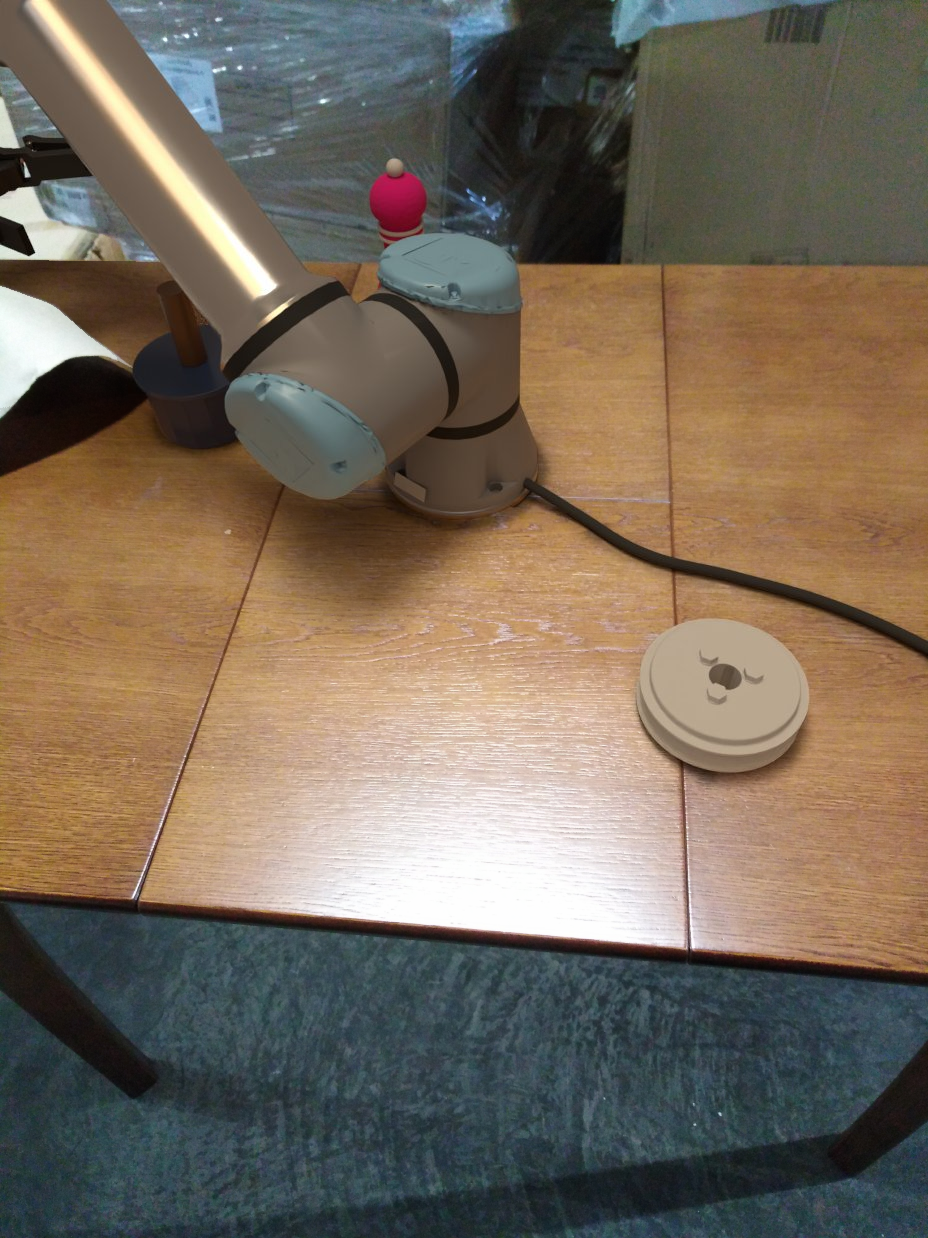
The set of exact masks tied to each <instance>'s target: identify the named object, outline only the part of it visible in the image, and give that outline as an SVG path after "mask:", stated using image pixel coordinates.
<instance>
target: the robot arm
mask: <svg viewBox="0 0 928 1238" xmlns="http://www.w3.org/2000/svg"><path fill="white" fill-rule="evenodd" d="M123 21H124V20H122V19H121V17H120V16H119V15H118V13H117V12H116V10H115V9H114V8H113V6H112V5H111V4H110V2H109V1H108V0H0V69H7V70H10V71H11V72H12V74H13V75H14V76H15V77H16V79H17V80H18V81H19V82H20V84H21V85H22V86H23V88H24V89H25V90H26V92H27V93H28V94H29V96H31V98H32V99H33V100H34V102H35V103H36V104H37V106H38V107H39V108H40V109H41V111H42V112H43V114H44V115H45V116H46V117H47V118H48V120H49V121H50V122H51V124H52V125H53V126H54V128H55V129H56V130H57V131H58V133H59V134H60V135H61V137H44V136H40V135H39V136H38V135H34V134H26V135H23V136H22V137H21V139H22V142H23V146H21V147H14V148H13V147H2V146H0V197H2V196H4V195H6V194H7V193H9V192H15V191H17V190H18V189H22V188H34V187H39V186H40V185H42V182H43V181H57V180H66V179H77V178H88V177H93V178H94V179H95V180H96V181H97V183H98V184H99V185H100V186H101V188H102V189H103V190H104V191H105V193H106V194H107V196H108V197H109V198H110V199H111V200H112V202H113V204H114V205H115V206H116V207H117V208H118V210H119V211H120V212H121V214H122V215H123V216H124V217H125V218H126V220H127V221H128V222H129V224H130V225H131V226H132V228H133V229H134V231H135V232H136V233H137V234H138V235H139V236H140V238H141V240H143V242H144V243H145V244H146V245H147V247H148V249H150V251H151V252H152V253H153V255H154V257H156V259H157V260H158V261H159V262H160V264H161V265H162V267H164V269H165V270H166V271H167V272H168V274H169V276H171V278H172V279H173V280H175V281H176V283H177V284H178V285H179V286H180V288H181V289H182V290H183V292H184V293H185V294H186V295H187V297H188V298H189V299H190V301H191V304H192V305H193V306H194V308H195V309H196V310H197V311H198V312H199V314H200V315H201V316H202V318H203V319H204V320H205V321H206V323H207V324H209V325H210V326H211V328H212V329H213V330H214V331H215V333H216V334H217V335H218V337H219V338H220V339H221V344H222V351H221V360H220V371H221V372H222V373H223V375H224V376H225V377H226V379H227V380H228V381H229V382H230V386H229V389H228V391H227V393H226V396H225V411H226V415H227V418H228V420H229V423H230V424H231V425H232V426H234V427H235V428H236V430H235V434H236V436H237V438H238V439H239V440H238V441H239V442H240V444H241V445H242V447H243V448H244V449H245V450H246V451H247V453H248V454H249V455H250V457H252V459H253V460H255V462H256V463H257V464H258V465H259V466H260V467H261V468H262V469H264V470H265V471H266V472H267V473H268V474H269V475H270V476H272V477H273V479H275V480H277V481H278V482H280V483H281V484H282V485H284V486H285V487H287V488H289V489H291V490H293V491H295V492H296V493H301V494H302V495H304V496H307V497H309V498H313V499H318V500H335V499H339V498H342V497H344V496H346V495H349V494H350V493H351V492H352V491H354V490H356V489H357V488H358V487H360V486H361V485H362V484H364V483H365V482H368V481H370V480H373V479H374V478H375V477H377V476H379V475H380V474H381V473H382V472H383V471H384V470H385V476H386V483H387V485H388V488H389V489H390V490H391V492H392V493H393V495H394V496H395V497H396V498H397V499H398V500H399V501H400V502H401V503H402V504H404V505H405V506H406V507H408V508H410V509H412V510H413V511H416V512H418V513H419V514H423V515H425V516H427V517H428V516H429V517H433V518H436V519H442V520H453V521H454V520H455V521H462V520H474V519H481V518H484V517H488V516H491V515H494V514H498V513H500V512H502V511H505V510H507V509H509V508H514V507H515V506H517V505H518V504H519V503H520V502H522V501H523V500H524V499H525V498H526V497H527V496H528V494H530V492H531V493H533V494H535V495H536V496H538V497H539V498H541V499H542V500H545V501H546V502H547V503H549V504H551V505H552V506H554V507H556V508H557V509H559V510H560V511H561V512H563V513H565V514H567V515H568V516H570V517H572V518H573V519H575V520H576V521H578V522H580V523H581V524H583V525H584V526H586V527H587V528H589V529H590V530H592V531H593V532H595V533H596V534H598V535H599V536H601V537H602V538H603V539H605V540H607V541H608V542H609V543H612V544H613V545H615V546H616V547H618V548H620V549H622V550H624V551H626V552H628V553H630V554H632V555H634V556H636V557H638V558H641V559H643V560H645V561H649V562H651V563H654V564H657V565H660V566H664V567H667V568H670V569H675V570H679V571H683V572H688V573H692V574H698V575H702V576H707V577H712V578H716V579H721V580H726V581H728V582H733V583H736V584H740V585H743V586H747V587H750V588H751V587H752V588H755V589H759V590H763V591H766V592H770V593H775V594H778V595H782V596H786V597H789V598H792V599H796V600H798V601H803V602H804V603H805V602H806V603H809V604H811V605H814V606H817V607H819V608H822V609H826V610H829V611H831V612H833V613H837V614H839V615H842V616H844V617H847V618H850V619H851V620H855V621H857V622H860V623H862V624H864V625H867V626H868V627H871V628H873V629H876V630H878V631H880V632H882V633H884V634H886V635H889V636H890V637H893V638H895V639H897V640H899V641H901V642H903V643H905V644H906V645H909V646H911V647H913V648H914V649H917V650H919V651H920V652H923V653H925V654H927V655H928V640H927V639H925V638H923V637H921V636H919V635H917V634H915V633H913V632H911V631H909V630H907V629H904V628H903V627H901V626H899V625H896V624H894V623H892V622H890V621H888V620H885V619H883V618H881V617H879V616H877V615H874V614H872V613H869V612H867V611H864V610H862V609H860V608H857V607H855V606H852V605H849V604H847V603H845V602H842V601H840V600H836V599H833V598H831V597H828V596H825V595H822V594H819V593H816V592H813V591H810V590H807V589H803V588H800V587H797V586H793V585H790V584H787V583H783V582H779V581H775V580H770V579H766V578H763V577H760V576H755V575H752V574H748V573H743V572H740V571H736V570H732V569H729V568H724V567H720V566H716V565H710V564H705V563H701V562H697V561H691V560H686V559H682V558H678V557H674V556H670V555H666V554H664V553H660V552H658V551H654V550H652V549H649V548H647V547H644V546H643V545H642V546H641V545H640V544H638V543H636V542H634V541H632V540H629V539H627V538H625V537H624V536H623V535H620V534H618V533H617V532H616V531H613V529H610V528H609V527H608V526H607V525H605V524H603V523H602V522H600V521H599V520H597V519H596V518H594V517H593V516H591V515H590V514H588V513H586V512H585V511H583V510H582V509H580V508H578V507H577V506H575V505H573V504H572V503H570V502H568V501H567V500H565V499H564V498H562V497H561V496H559V495H558V494H556V493H554V492H552V491H551V490H550V489H548V488H546V487H544V486H543V485H541V484H539V483H537V477H538V472H539V454H538V448H537V447H538V446H537V443H536V440H535V437H534V434H533V432H532V430H531V427H530V424H529V422H528V419H527V417H526V414H525V412H524V409H523V407H522V404H521V337H522V335H521V334H522V333H521V332H522V308H523V307H524V302H523V300H524V299H523V298H522V296H521V295H522V293H521V277H520V271H519V269H518V265H517V263H516V261H515V260H514V259H513V257H512V256H511V254H510V253H508V252H507V250H505V249H504V248H502V247H501V246H499V245H497V244H495V243H493V242H491V241H489V240H486V239H483V238H480V237H477V236H473V235H468V234H462V233H454V232H453V233H451V232H448V233H447V232H429V233H424V234H421V235H415V236H411V237H407V238H404V239H401V240H399V241H397V242H395V243H393V244H391V245H390V246H388V247H387V248H386V249H384V250H383V251H382V252H381V254H380V256H379V258H378V267H377V270H376V277H377V279H378V282H379V281H380V287H379V289H378V288H377V289H378V291H377V290H376V291H375V292H373V293H372V294H370V295H369V296H368V297H366V298H364V299H363V300H361V301H359V302H358V303H357V302H356V301H355V299H354V297H352V295H351V294H350V293H349V291H348V290H347V289H346V287H345V286H344V284H343V283H342V282H341V281H340V280H339V278H338V277H334V276H329V275H322V274H315V273H313V272H311V271H309V270H308V269H307V268H306V266H305V265H304V263H303V262H302V261H301V260H300V258H299V257H298V255H297V254H296V252H294V250H293V249H292V248H291V246H290V245H289V244H288V242H287V241H286V240H285V238H284V237H283V235H282V234H281V233H280V231H279V230H278V228H277V227H276V226H275V225H274V224H273V222H272V221H271V219H270V218H269V216H268V215H267V214H266V213H265V211H264V210H263V208H262V207H261V206H260V205H259V203H258V202H257V200H256V199H255V197H254V196H253V195H252V193H251V192H250V191H249V190H248V188H247V187H246V185H245V184H244V183H243V182H242V180H241V179H240V177H239V176H238V175H237V173H236V172H235V170H234V169H233V168H232V166H231V165H230V164H229V163H228V161H227V159H226V158H225V157H224V156H223V154H222V153H221V152H220V151H219V149H218V147H216V145H215V144H214V142H213V141H212V140H211V138H210V137H209V136H208V135H207V133H206V132H205V130H204V129H203V128H202V127H201V125H200V124H199V122H198V121H197V119H196V118H195V117H194V115H193V114H192V112H191V111H190V110H189V109H188V107H187V106H186V104H185V103H184V102H183V100H182V99H181V98H180V97H179V95H178V94H177V92H175V90H174V89H173V87H172V85H170V82H168V81H167V79H166V77H165V76H164V75H163V74H162V72H161V71H160V70H159V69H158V67H157V66H156V64H155V62H153V60H152V59H151V58H150V56H149V55H148V53H147V52H146V51H145V50H144V48H143V46H141V44H140V43H139V42H138V40H137V39H136V37H135V36H134V34H132V32H131V30H130V29H129V28H128V26H127V25H126V24H125V22H123ZM25 166H26V169H27V171H28V173H29V176H26V169H25ZM0 246H2V247H4V248H7V249H10V250H12V251H14V252H17V253H19V254H22V255H24V256H26V257H31V256H33V255H35V254H36V250H35V248H34V246H33V244H32V241H31V239H30V237H29V235H28V232H27V230H26V227H25V226H24V224H22V223H19V222H17V221H15V220H12V219H10V218H7V217H4V216H3V215H0Z"/></svg>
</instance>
